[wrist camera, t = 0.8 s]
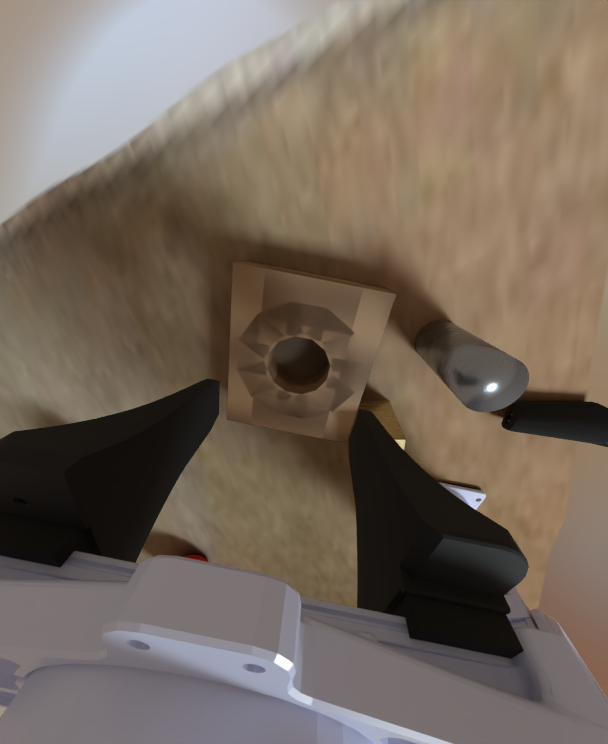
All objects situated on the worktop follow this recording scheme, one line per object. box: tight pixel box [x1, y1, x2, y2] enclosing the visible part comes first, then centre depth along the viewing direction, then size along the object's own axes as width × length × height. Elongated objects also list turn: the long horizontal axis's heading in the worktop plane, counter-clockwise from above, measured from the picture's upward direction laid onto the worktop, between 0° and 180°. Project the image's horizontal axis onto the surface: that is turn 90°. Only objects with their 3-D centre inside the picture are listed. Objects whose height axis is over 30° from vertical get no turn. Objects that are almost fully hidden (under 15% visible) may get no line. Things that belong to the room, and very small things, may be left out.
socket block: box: [227, 261, 396, 443], centre depth 18 cm, size 12×10×3 cm
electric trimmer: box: [502, 401, 608, 447], centre depth 19 cm, size 4×16×3 cm, turn 85°
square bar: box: [350, 401, 405, 450], centre depth 20 cm, size 3×3×5 cm
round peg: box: [415, 320, 529, 412], centre depth 15 cm, size 3×3×7 cm
